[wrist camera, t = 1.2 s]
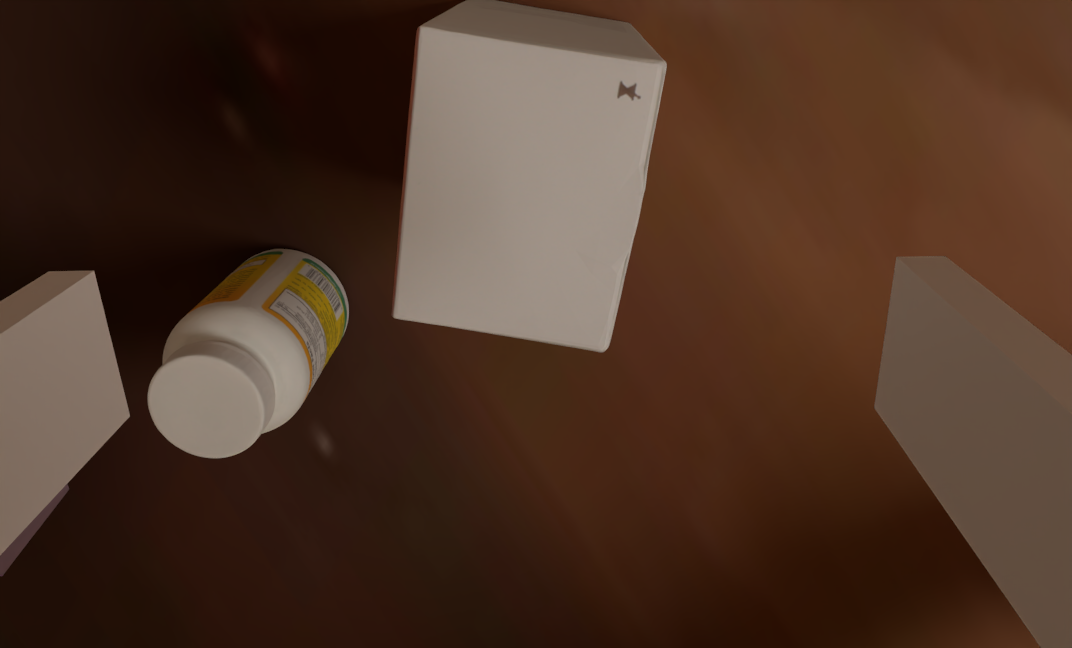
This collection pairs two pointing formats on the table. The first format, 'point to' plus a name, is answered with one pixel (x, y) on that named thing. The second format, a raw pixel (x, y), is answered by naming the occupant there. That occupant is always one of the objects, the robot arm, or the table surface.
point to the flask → (28, 533)
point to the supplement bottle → (248, 353)
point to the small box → (524, 171)
